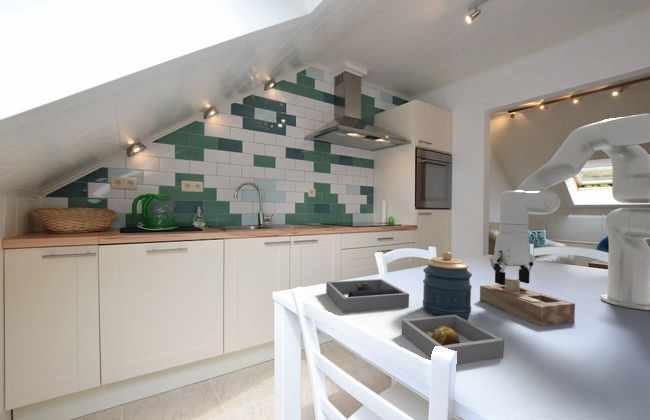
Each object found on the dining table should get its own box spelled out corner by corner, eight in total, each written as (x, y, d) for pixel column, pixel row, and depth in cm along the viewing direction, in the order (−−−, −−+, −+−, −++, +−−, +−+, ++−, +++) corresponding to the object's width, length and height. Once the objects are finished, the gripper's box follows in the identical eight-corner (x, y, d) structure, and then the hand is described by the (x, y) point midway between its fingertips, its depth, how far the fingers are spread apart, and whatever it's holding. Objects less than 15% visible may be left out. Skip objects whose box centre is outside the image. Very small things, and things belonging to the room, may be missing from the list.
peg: (510, 302, 92) (511, 277, 92) (522, 306, 88) (523, 280, 88) (501, 302, 91) (501, 278, 91) (512, 307, 87) (513, 281, 87)
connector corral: (381, 289, 103) (381, 279, 103) (408, 307, 85) (409, 293, 85) (326, 293, 97) (326, 282, 97) (343, 312, 80) (343, 298, 80)
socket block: (508, 298, 96) (508, 282, 96) (574, 321, 76) (575, 302, 76) (479, 300, 92) (480, 284, 92) (541, 326, 73) (541, 305, 73)
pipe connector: (341, 282, 93) (382, 280, 97) (340, 298, 93) (382, 295, 97) (354, 294, 81) (400, 291, 86) (353, 312, 82) (399, 308, 86)
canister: (476, 312, 82) (478, 252, 82) (462, 325, 73) (464, 257, 72) (432, 301, 91) (434, 247, 91) (414, 311, 82) (416, 251, 81)
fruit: (417, 334, 68) (418, 319, 67) (454, 338, 66) (455, 322, 66) (423, 351, 59) (423, 334, 59) (465, 356, 58) (465, 338, 58)
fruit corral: (454, 328, 71) (454, 314, 71) (503, 357, 57) (503, 340, 57) (401, 334, 67) (401, 319, 67) (440, 367, 53) (441, 348, 53)
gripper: (523, 228, 95) (521, 278, 95) (481, 228, 91) (480, 281, 91) (546, 230, 88) (544, 284, 88) (502, 230, 83) (500, 288, 84)
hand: (512, 283), depth 90 cm, fingers open, 9 cm apart
